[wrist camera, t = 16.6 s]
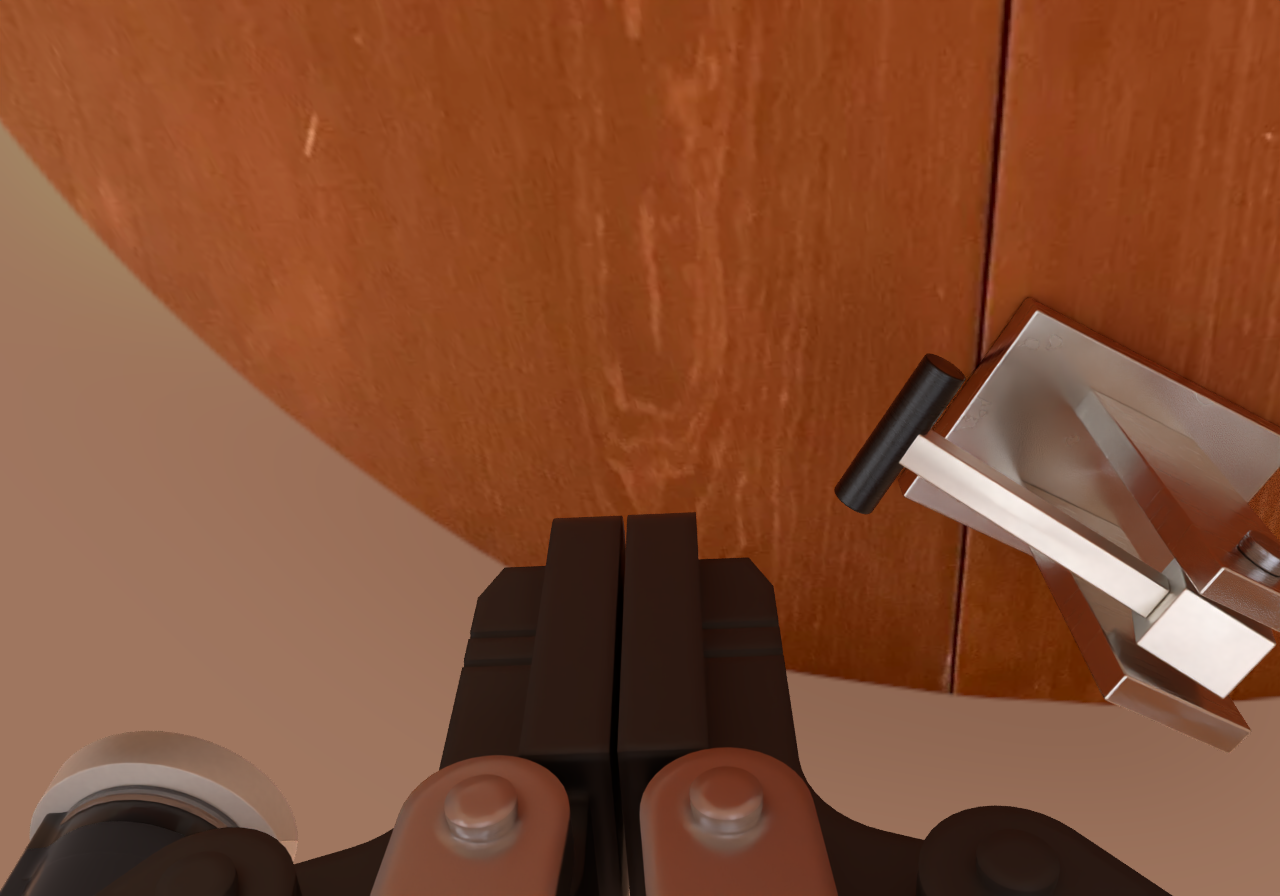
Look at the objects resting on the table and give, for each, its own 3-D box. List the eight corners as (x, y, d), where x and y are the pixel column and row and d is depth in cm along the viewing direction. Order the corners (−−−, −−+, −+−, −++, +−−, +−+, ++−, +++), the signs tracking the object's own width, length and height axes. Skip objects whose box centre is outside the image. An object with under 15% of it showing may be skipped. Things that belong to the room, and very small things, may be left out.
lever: (840, 475, 37) (827, 502, 35) (930, 343, 35) (921, 364, 33) (1182, 692, 36) (1190, 735, 33) (1297, 570, 33) (1314, 607, 31)
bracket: (896, 480, 43) (972, 695, 33) (1027, 295, 40) (1158, 470, 29) (1140, 594, 45) (1284, 829, 35) (1284, 429, 42) (1491, 635, 31)
